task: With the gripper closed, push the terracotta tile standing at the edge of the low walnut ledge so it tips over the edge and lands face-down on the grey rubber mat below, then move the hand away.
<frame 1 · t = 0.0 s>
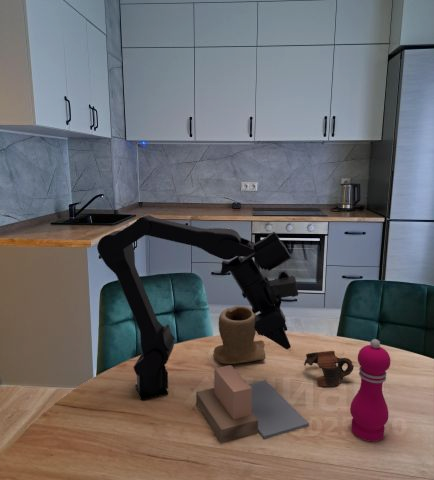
hand: (287, 339, 89), 15 cm above the table, tool tilted 35°, fingers open, 9 cm apart
tile: (231, 403, 85), point 3 cm above the table, touching ledge
mat: (264, 407, 89), on the table
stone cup: (241, 360, 111), on the table
pottery mug: (327, 378, 101), on the table
pepper mill: (367, 432, 81), on the table
ledge: (225, 417, 85), on the table
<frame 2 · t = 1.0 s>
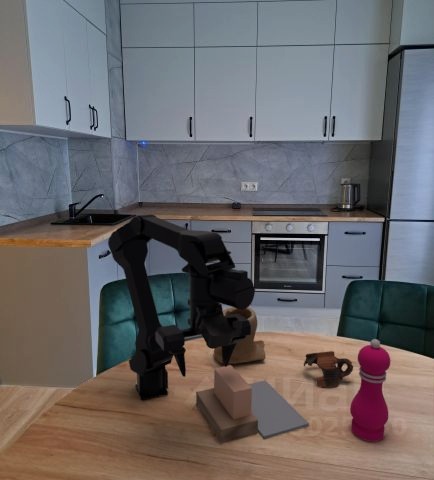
hand: (204, 370, 81), 12 cm above the table, tool pointing down, fingers open, 9 cm apart
nothing on the table moved.
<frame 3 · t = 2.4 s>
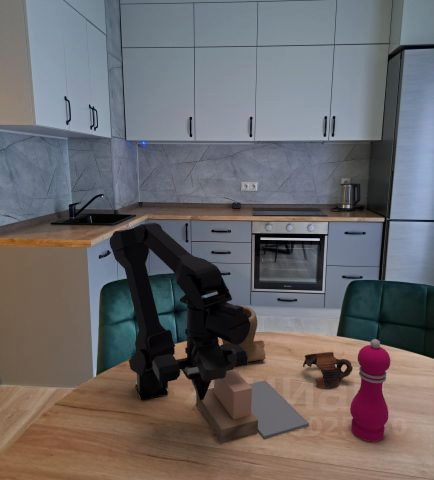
hand: (200, 399, 82), 6 cm above the table, tool pointing down, fingers closed
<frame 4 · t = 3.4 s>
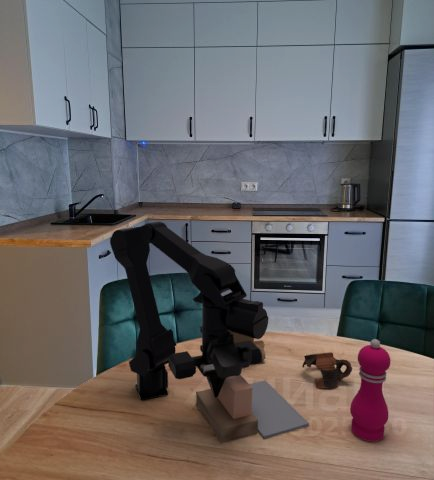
hand: (215, 396, 83), 6 cm above the table, tool pointing down, fingers closed
tile: (231, 403, 85), point 3 cm above the table, touching gripper, ledge
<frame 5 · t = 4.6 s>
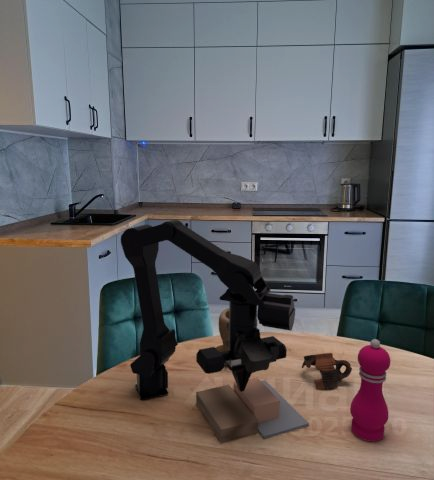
hand: (241, 390, 85), 6 cm above the table, tool pointing down, fingers closed
tile: (243, 402, 86), point 3 cm above the table, tilted 90°, touching mat
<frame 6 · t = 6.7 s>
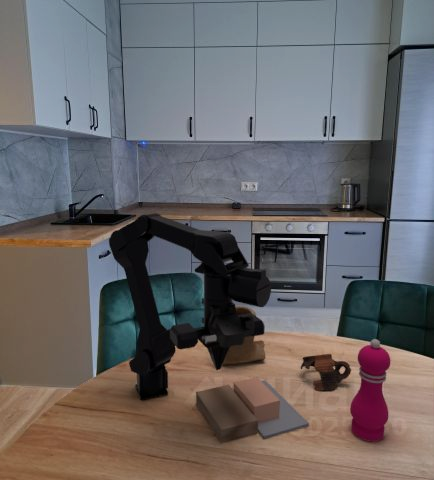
hand: (217, 369, 82), 12 cm above the table, tool pointing down, fingers closed
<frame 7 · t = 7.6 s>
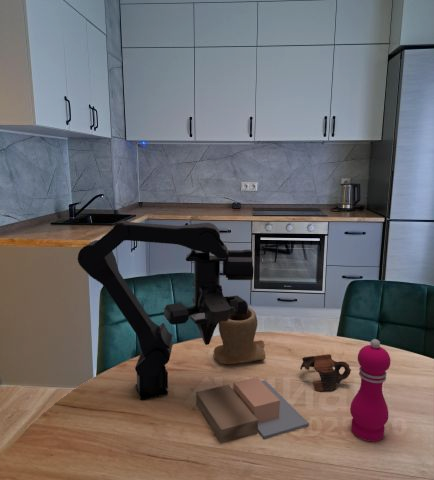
hand: (206, 344, 92), 12 cm above the table, tool pointing down, fingers closed
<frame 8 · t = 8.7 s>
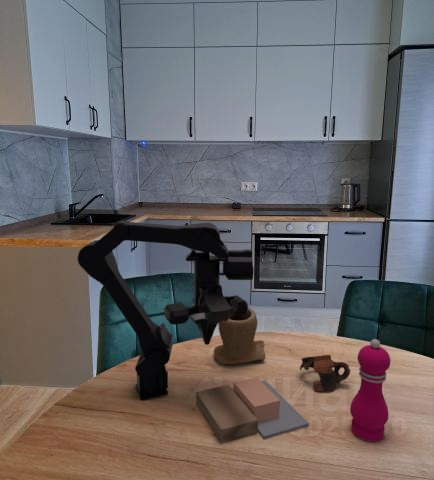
hand: (206, 344, 92), 12 cm above the table, tool pointing down, fingers closed
at the end: tile tilted 90°; tile inside the target area (5.7 cm from its centre), point 2.6 cm above the table; tile touching mat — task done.
